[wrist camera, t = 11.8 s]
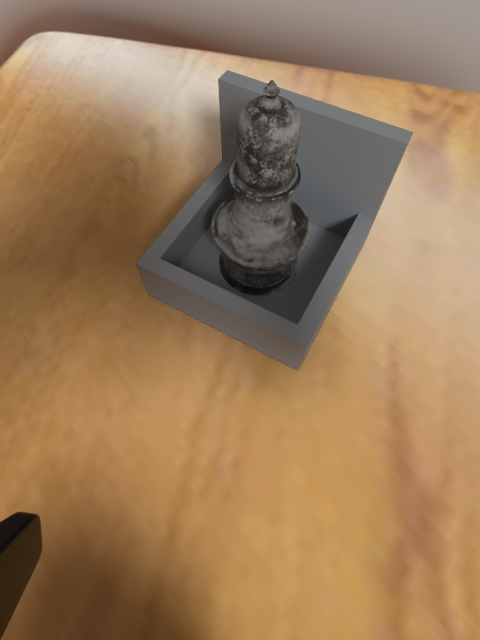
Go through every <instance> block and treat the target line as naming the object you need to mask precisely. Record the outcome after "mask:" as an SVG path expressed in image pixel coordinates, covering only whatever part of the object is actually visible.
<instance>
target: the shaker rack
mask: <svg viewBox="0 0 480 640" xmlns="http://www.w3.org/2000/svg"><path fill="white" fill-rule="evenodd" d="M218 83H219V103H220V123H221V143H222V161H221V162H220V163H219V164H218V165H217V167H216V168H215V169H214V170H213V171H212V173H211V174H210V175H209V176H208V178H207V179H206V180H205V181H204V182H203V184H202V185H201V186H200V187H199V188H198V190H197V191H196V192H195V193H194V194H193V196H192V197H191V198H190V199H189V200H188V202H187V203H186V204H185V205H184V206H183V208H182V209H181V210H180V211H179V212H178V214H177V215H176V216H175V217H174V218H173V220H172V221H171V222H170V223H169V224H168V226H167V227H166V228H165V229H164V231H163V232H162V233H161V234H160V235H159V237H158V238H157V239H156V240H155V241H154V243H153V244H152V245H151V246H150V247H149V249H148V250H147V251H146V252H145V253H144V255H143V256H142V257H141V258H140V259H139V261H138V262H137V263H136V265H137V267H138V270H139V272H140V275H141V277H142V280H143V282H144V285H145V287H146V290H147V292H148V295H150V296H152V297H154V298H156V299H158V300H160V301H162V302H164V303H166V304H168V305H170V306H172V307H174V308H176V309H178V310H180V311H182V312H184V313H185V314H187V315H189V316H191V317H193V318H195V319H197V320H199V321H201V322H203V323H205V324H207V325H209V326H211V327H213V328H215V329H217V330H219V331H221V332H223V333H225V334H227V335H229V336H231V337H232V338H234V339H236V340H238V341H240V342H242V343H244V344H246V345H248V346H250V347H252V348H254V349H256V350H258V351H260V352H262V353H264V354H266V355H268V356H270V357H272V358H274V359H276V360H277V361H279V362H281V363H283V364H285V365H287V366H289V367H291V368H293V369H295V370H297V371H298V370H299V368H300V366H301V364H302V362H303V360H304V358H305V357H306V355H307V353H308V351H309V349H310V347H311V345H312V343H313V341H314V339H315V337H316V335H317V333H318V331H319V330H320V328H321V326H322V324H323V322H324V320H325V318H326V316H327V314H328V312H329V310H330V308H331V306H332V305H333V303H334V301H335V299H336V297H337V295H338V293H339V291H340V289H341V287H342V285H343V283H344V281H345V279H346V278H347V276H348V274H349V272H350V270H351V268H352V266H353V264H354V262H355V260H356V258H357V256H358V254H359V253H360V251H361V249H362V247H363V245H364V243H365V240H366V238H367V236H368V234H369V231H370V229H371V227H372V225H373V222H374V220H375V218H376V216H377V213H378V211H379V209H380V207H381V204H382V202H383V200H384V197H385V195H386V193H387V191H388V188H389V186H390V184H391V182H392V179H393V177H394V175H395V173H396V170H397V168H398V166H399V164H400V161H401V159H402V157H403V155H404V152H405V150H406V148H407V146H408V143H409V141H410V139H411V136H412V134H413V132H411V131H408V130H405V129H402V128H399V127H396V126H393V125H390V124H387V123H384V122H381V121H378V120H375V119H372V118H369V117H366V116H363V115H360V114H357V113H354V112H351V111H348V110H345V109H342V108H339V107H336V106H333V105H330V104H327V103H324V102H321V101H318V100H315V99H312V98H309V97H306V96H303V95H300V94H297V93H294V92H291V91H288V90H285V89H282V88H279V87H278V88H279V89H280V93H279V94H278V96H281V97H284V98H286V99H288V100H289V101H291V102H292V103H293V104H294V105H295V106H296V108H297V110H298V111H299V114H300V116H301V131H300V137H299V144H298V150H297V156H296V163H297V164H298V165H299V168H300V170H301V180H300V183H299V186H298V187H297V188H296V190H295V191H294V192H293V193H292V198H293V199H294V200H295V201H297V202H298V203H299V204H301V206H302V207H303V208H304V209H305V211H306V212H307V214H308V216H309V219H310V221H311V236H310V240H309V243H308V245H307V246H306V248H305V249H304V251H303V252H302V253H301V254H300V255H299V256H298V270H297V273H296V276H295V278H294V279H293V280H292V282H291V283H290V284H289V285H288V286H287V287H285V288H284V289H283V290H281V291H278V292H276V293H274V294H269V295H264V296H259V295H249V294H246V293H242V292H240V291H238V290H237V289H235V288H233V287H232V286H231V285H230V284H229V283H228V282H226V281H225V279H224V277H223V275H222V274H221V271H220V267H219V256H220V253H221V251H220V250H219V248H218V247H217V245H216V243H215V242H214V240H213V236H212V231H211V225H212V218H213V216H214V214H215V212H216V209H217V208H218V207H219V206H220V205H221V204H222V203H223V202H224V201H225V200H226V199H228V198H230V197H231V196H233V195H235V194H236V190H235V189H234V188H233V186H232V185H231V182H230V178H229V173H230V168H231V166H232V164H233V162H234V161H235V160H236V159H237V119H238V115H239V113H240V111H241V109H242V108H243V107H244V105H245V104H246V103H247V102H248V101H250V100H252V99H253V98H256V97H259V96H262V95H265V94H264V93H263V89H264V88H265V87H266V86H267V83H264V82H261V81H258V80H255V79H252V78H249V77H246V76H243V75H240V74H237V73H234V72H231V71H228V70H227V71H226V72H225V73H224V74H223V75H222V76H221V77H220V78H219V79H218Z"/></svg>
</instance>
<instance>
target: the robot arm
mask: <svg viewBox="0 0 480 640" xmlns="http://www.w3.org/2000/svg"><path fill="white" fill-rule="evenodd" d="M41 552H42V534H41V522H40V517H39V516H38V515H37V514H34V513H27V512H17V513H15V514H13V515H11V516H9V517H8V518H6V519H5V520H3V521H1V522H0V639H1V637H2V635H3V633H4V631H5V629H6V627H7V625H8V623H9V621H10V619H11V617H12V615H13V613H14V610H15V608H16V606H17V604H18V602H19V600H20V598H21V596H22V594H23V592H24V590H25V588H26V585H27V583H28V581H29V579H30V577H31V575H32V573H33V571H34V569H35V567H36V565H37V562H38V560H39V558H40V555H41Z"/></svg>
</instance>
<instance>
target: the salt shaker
mask: <svg viewBox="0 0 480 640" xmlns="http://www.w3.org/2000/svg"><path fill="white" fill-rule="evenodd" d="M263 93H264V94H265V95H262V96H259V97H256V98H253V99H252V100H250V101H248V102H247V103H246V104H245V105H244V107H243V108H242V109H241V111H240V113H239V115H238V119H237V159H236V160H235V161H234V162H233V164H232V166H231V168H230V173H229V178H230V182H231V185H232V186H233V188H234V189H235V190H236V194H235V195H233V196H231V197H230V198H228V199H226V200H225V201H224V202H223V203H222V204H221V205H220V206H219V207H218V208H217V209H216V212H215V214H214V216H213V218H212V225H211V231H212V236H213V240H214V242H215V243H216V245H217V247H218V248H219V250H220V251H221V253H220V256H219V267H220V271H221V274H222V275H223V277H224V279H225V281H226V282H228V283H229V284H230V285H231V286H232V287H233V288H235V289H237V290H238V291H240V292H242V293H246V294H249V295H259V296H264V295H269V294H274V293H276V292H278V291H281V290H283V289H284V288H285V287H287V286H288V285H289V284H290V283H291V282H292V280H293V279H294V278H295V276H296V273H297V270H298V256H299V255H300V254H301V253H302V252H303V251H304V249H305V248H306V246H307V245H308V243H309V240H310V236H311V221H310V219H309V216H308V214H307V212H306V211H305V209H304V208H303V207H302V206H301V204H299V203H298V202H297V201H295V200H294V199H293V198H292V193H293V192H294V191H295V190H296V188H297V187H298V186H299V183H300V180H301V170H300V168H299V165H298V164H297V163H296V156H297V150H298V144H299V137H300V131H301V116H300V114H299V111H298V110H297V108H296V106H295V105H294V104H293V103H292V102H291V101H289V100H288V99H286V98H284V97H281V96H278V94H279V93H280V89H279V88H278V87H277V85H276V84H275V83H274V81H273V80H271V81H270V83H268V84H267V86H266V87H265V88H264V89H263Z"/></svg>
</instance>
